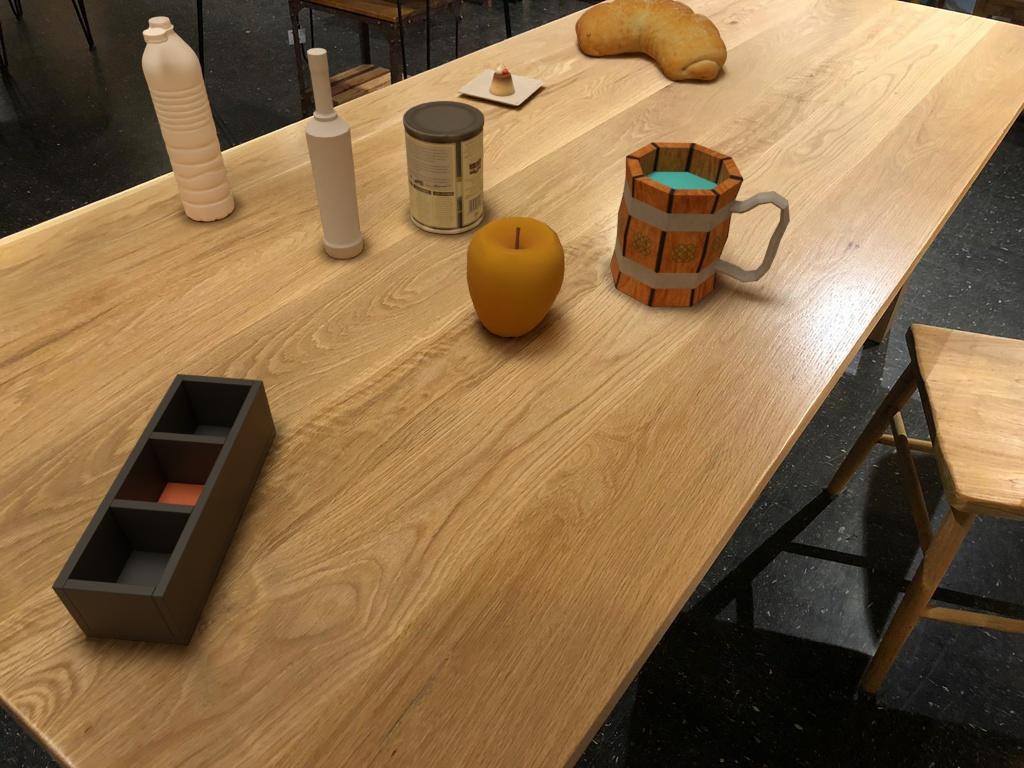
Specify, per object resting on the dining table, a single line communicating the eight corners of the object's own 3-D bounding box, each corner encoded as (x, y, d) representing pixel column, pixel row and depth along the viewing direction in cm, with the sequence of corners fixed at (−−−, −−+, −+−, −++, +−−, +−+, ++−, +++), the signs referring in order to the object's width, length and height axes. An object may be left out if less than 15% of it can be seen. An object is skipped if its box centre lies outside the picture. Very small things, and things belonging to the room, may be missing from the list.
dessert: (545, 87, 140) (547, 60, 136) (518, 111, 132) (519, 83, 128) (487, 74, 143) (487, 48, 140) (456, 97, 135) (456, 70, 132)
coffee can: (418, 193, 110) (412, 97, 101) (488, 199, 110) (490, 103, 100) (401, 231, 103) (394, 131, 93) (477, 238, 102) (477, 138, 92)
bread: (746, 61, 152) (758, 7, 145) (701, 91, 140) (712, 35, 134) (608, 23, 166) (614, -27, 159) (556, 48, 154) (560, -5, 147)
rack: (85, 636, 59) (51, 587, 54) (196, 425, 76) (177, 373, 71) (187, 645, 59) (162, 597, 54) (276, 431, 75) (262, 380, 71)
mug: (595, 293, 94) (610, 182, 84) (622, 238, 103) (639, 132, 93) (757, 332, 89) (794, 220, 79) (770, 270, 99) (804, 163, 88)
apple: (553, 360, 85) (562, 263, 76) (457, 348, 86) (455, 251, 77) (564, 301, 92) (573, 207, 84) (476, 290, 93) (476, 196, 85)
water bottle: (187, 200, 107) (132, 10, 90) (236, 196, 108) (190, 8, 91) (182, 233, 101) (121, 36, 84) (233, 229, 102) (184, 34, 85)
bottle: (362, 259, 98) (338, 60, 80) (321, 260, 97) (288, 60, 80) (365, 237, 101) (343, 43, 84) (326, 238, 101) (295, 42, 84)
